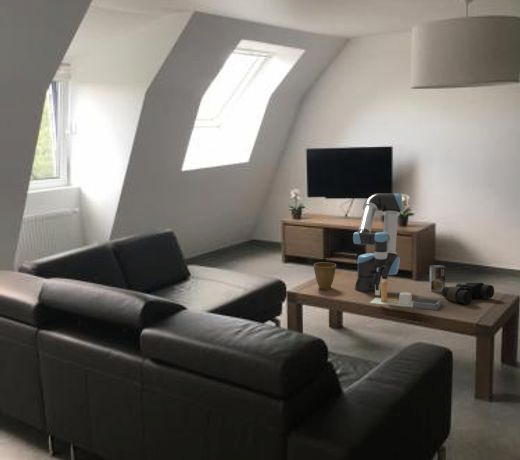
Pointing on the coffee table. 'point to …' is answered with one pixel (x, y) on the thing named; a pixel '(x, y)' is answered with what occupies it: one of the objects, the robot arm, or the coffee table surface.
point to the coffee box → (437, 278)
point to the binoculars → (468, 292)
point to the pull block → (403, 299)
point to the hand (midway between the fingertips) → (380, 292)
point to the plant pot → (324, 274)
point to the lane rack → (413, 303)
